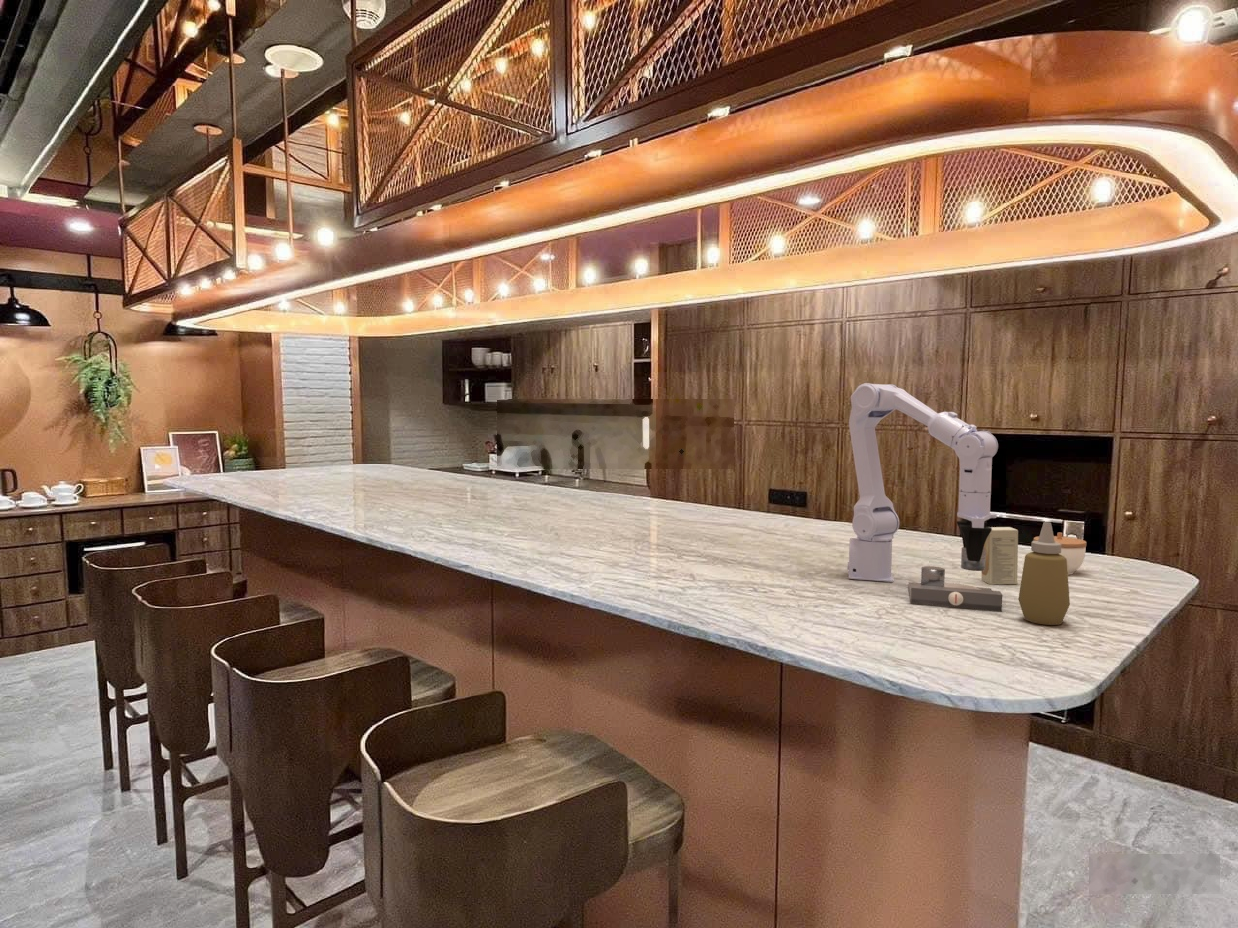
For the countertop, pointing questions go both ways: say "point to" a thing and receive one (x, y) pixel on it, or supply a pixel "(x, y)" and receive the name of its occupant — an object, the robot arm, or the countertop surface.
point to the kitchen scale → (955, 596)
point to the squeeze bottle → (1044, 581)
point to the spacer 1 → (932, 576)
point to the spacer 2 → (972, 564)
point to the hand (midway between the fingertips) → (972, 558)
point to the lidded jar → (1071, 551)
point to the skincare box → (1001, 556)
